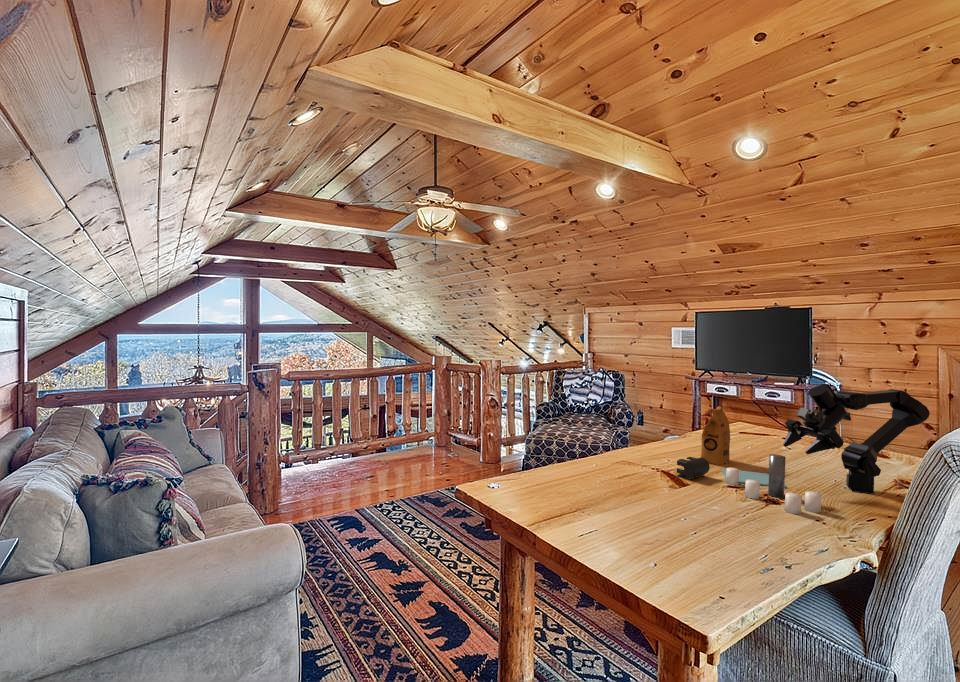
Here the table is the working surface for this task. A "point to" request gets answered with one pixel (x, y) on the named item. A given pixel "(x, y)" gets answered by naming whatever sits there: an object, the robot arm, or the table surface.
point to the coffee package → (716, 438)
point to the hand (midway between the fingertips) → (794, 449)
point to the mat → (752, 477)
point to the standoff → (776, 475)
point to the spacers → (790, 498)
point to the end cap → (692, 467)
